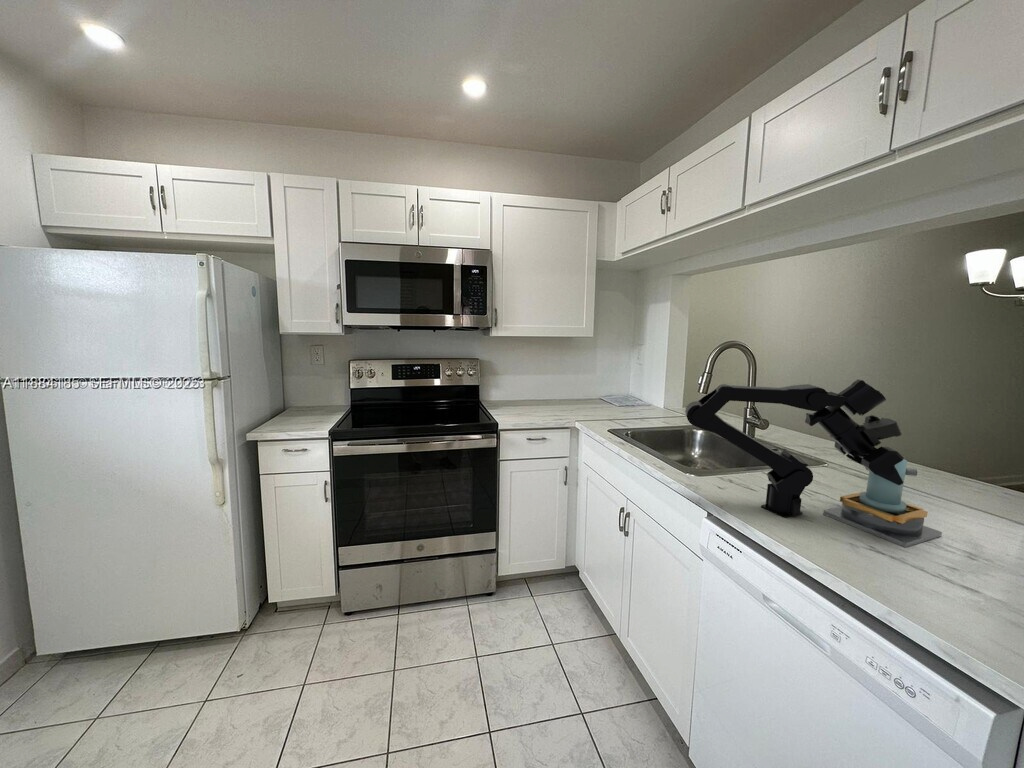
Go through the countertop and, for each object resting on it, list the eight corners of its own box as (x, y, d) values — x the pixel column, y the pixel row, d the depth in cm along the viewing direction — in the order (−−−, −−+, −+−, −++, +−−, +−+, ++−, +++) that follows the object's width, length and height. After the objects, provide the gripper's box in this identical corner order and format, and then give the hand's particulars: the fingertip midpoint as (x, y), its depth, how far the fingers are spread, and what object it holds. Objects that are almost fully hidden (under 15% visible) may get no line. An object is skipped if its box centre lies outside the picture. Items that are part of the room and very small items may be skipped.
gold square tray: (823, 514, 98) (825, 494, 97) (857, 506, 103) (860, 487, 102) (905, 547, 83) (909, 524, 82) (941, 536, 88) (945, 514, 87)
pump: (864, 507, 91) (872, 453, 89) (855, 495, 98) (862, 445, 96) (916, 517, 87) (925, 460, 85) (903, 503, 94) (911, 451, 92)
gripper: (898, 414, 82) (959, 472, 80) (856, 400, 99) (904, 447, 97) (847, 446, 86) (903, 502, 83) (814, 427, 103) (860, 473, 101)
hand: (893, 479), depth 91 cm, fingers closed on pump, 6 cm apart
